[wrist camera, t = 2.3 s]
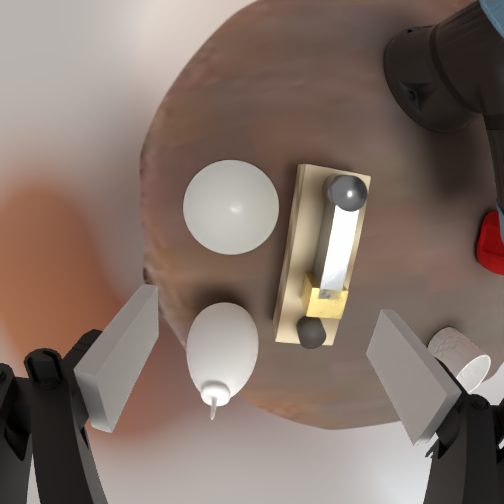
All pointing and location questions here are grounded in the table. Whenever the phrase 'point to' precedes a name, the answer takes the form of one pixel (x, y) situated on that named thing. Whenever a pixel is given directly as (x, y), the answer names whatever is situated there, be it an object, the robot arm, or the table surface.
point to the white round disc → (231, 207)
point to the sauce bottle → (221, 352)
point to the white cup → (460, 357)
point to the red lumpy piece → (491, 244)
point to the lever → (333, 247)
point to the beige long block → (307, 260)
